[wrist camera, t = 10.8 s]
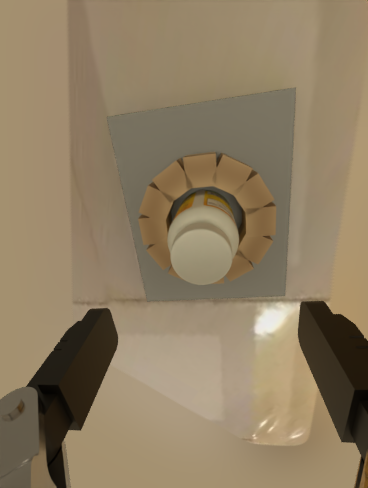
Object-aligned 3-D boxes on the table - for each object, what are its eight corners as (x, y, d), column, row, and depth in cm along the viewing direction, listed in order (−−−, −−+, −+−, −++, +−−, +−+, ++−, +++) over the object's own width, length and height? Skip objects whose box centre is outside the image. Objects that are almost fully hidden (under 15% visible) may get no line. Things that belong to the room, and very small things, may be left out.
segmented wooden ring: (136, 161, 22) (126, 164, 20) (269, 144, 21) (278, 145, 18) (157, 272, 27) (152, 286, 24) (267, 265, 25) (274, 280, 23)
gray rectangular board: (112, 118, 23) (106, 116, 21) (290, 90, 20) (296, 87, 19) (150, 294, 30) (147, 301, 29) (281, 288, 28) (285, 296, 27)
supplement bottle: (229, 184, 22) (242, 212, 14) (233, 237, 24) (247, 290, 16) (173, 192, 23) (152, 223, 14) (182, 243, 25) (168, 297, 17)
